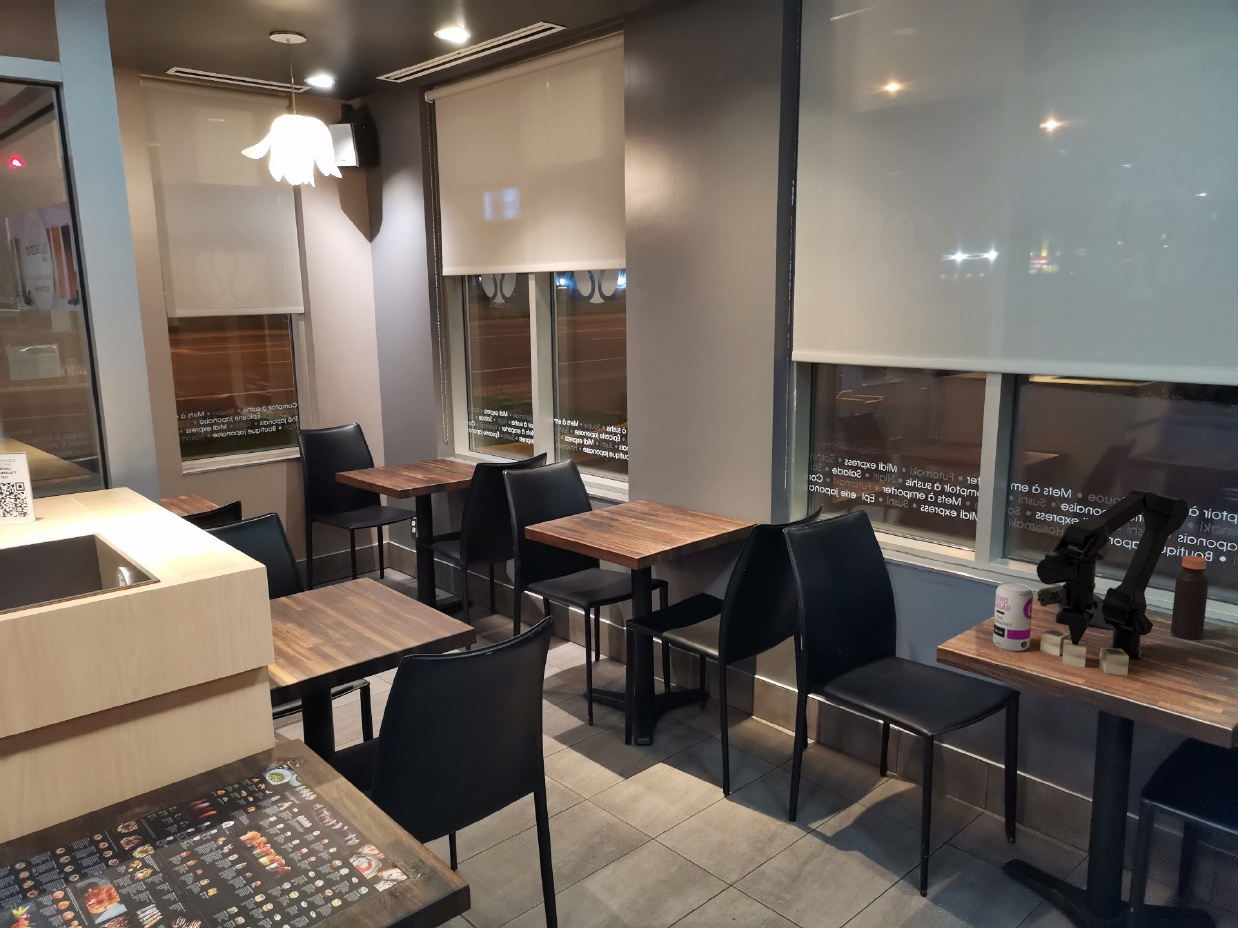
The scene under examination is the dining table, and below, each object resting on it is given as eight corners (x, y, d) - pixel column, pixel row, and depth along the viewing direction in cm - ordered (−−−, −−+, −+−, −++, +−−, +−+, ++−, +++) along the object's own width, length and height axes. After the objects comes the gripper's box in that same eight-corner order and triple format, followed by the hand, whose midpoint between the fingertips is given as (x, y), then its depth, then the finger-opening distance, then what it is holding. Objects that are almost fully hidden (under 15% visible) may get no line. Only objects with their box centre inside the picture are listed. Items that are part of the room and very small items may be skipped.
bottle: (1197, 642, 212) (1206, 563, 208) (1166, 634, 217) (1174, 558, 213) (1206, 635, 216) (1214, 558, 213) (1175, 628, 221) (1183, 552, 218)
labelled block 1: (1048, 646, 210) (1050, 627, 210) (1067, 651, 207) (1069, 633, 206) (1040, 650, 208) (1041, 632, 207) (1059, 656, 204) (1060, 637, 203)
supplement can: (1033, 645, 211) (1038, 586, 208) (1022, 654, 205) (1026, 594, 203) (999, 637, 216) (1003, 579, 214) (987, 646, 211) (991, 587, 208)
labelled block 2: (1098, 666, 198) (1100, 646, 198) (1119, 667, 197) (1121, 648, 197) (1105, 673, 194) (1107, 654, 193) (1127, 675, 193) (1129, 655, 192)
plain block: (1062, 657, 203) (1063, 639, 203) (1084, 660, 201) (1085, 642, 201) (1062, 664, 199) (1064, 646, 199) (1084, 667, 197) (1086, 649, 197)
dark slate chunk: (1057, 625, 225) (1059, 608, 224) (1055, 600, 245) (1056, 584, 244) (1125, 634, 219) (1127, 616, 218) (1117, 607, 238) (1119, 591, 238)
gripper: (1049, 564, 209) (1045, 625, 212) (1033, 583, 194) (1028, 649, 197) (1101, 571, 203) (1096, 634, 205) (1089, 592, 188) (1083, 660, 190)
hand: (1075, 644), depth 200 cm, fingers closed
